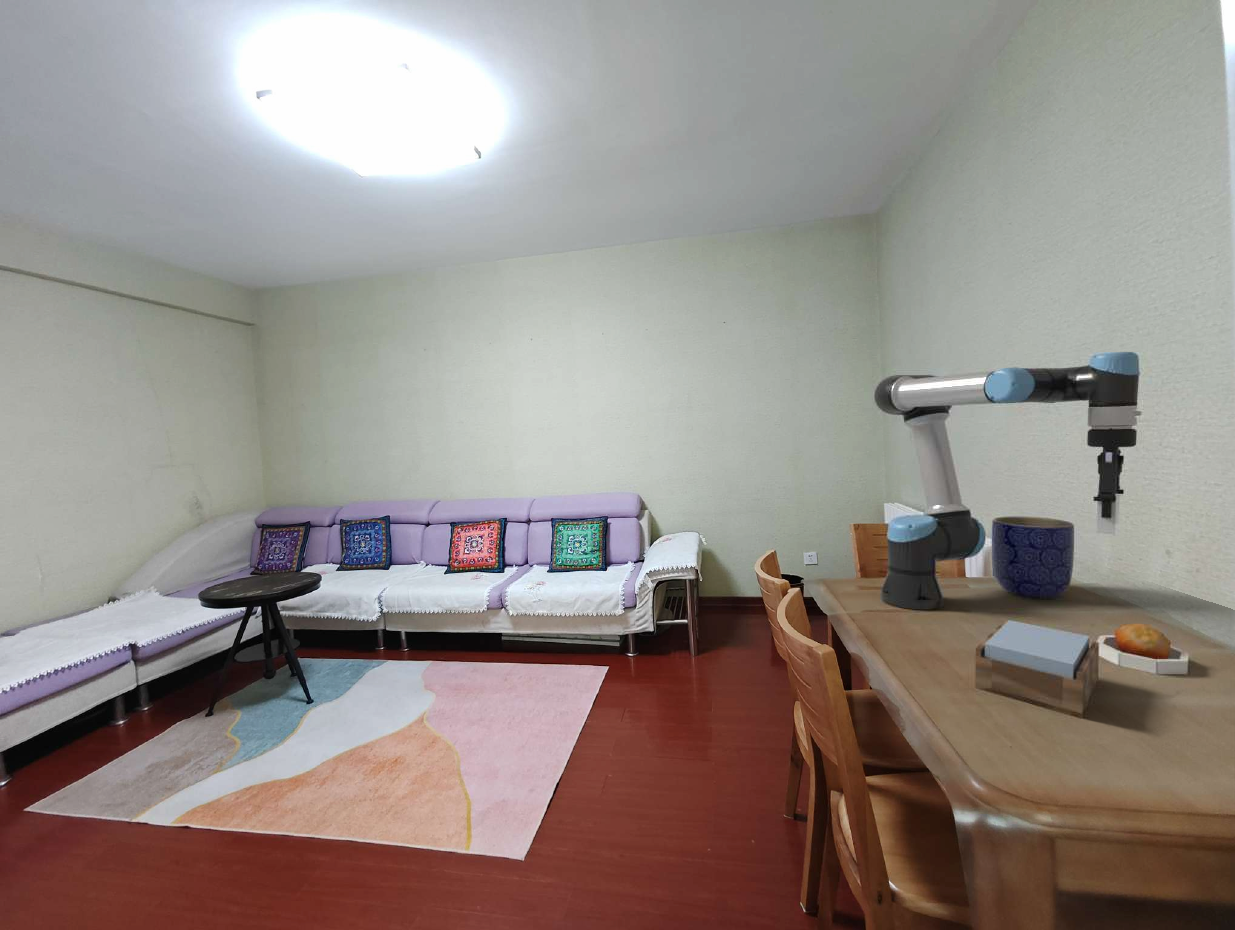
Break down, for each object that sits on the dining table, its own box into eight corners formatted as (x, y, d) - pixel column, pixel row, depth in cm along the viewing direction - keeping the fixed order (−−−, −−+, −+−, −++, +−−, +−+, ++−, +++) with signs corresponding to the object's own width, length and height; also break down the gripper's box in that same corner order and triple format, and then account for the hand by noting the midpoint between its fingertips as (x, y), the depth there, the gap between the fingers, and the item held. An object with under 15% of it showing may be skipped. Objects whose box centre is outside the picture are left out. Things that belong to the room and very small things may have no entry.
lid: (1008, 632, 109) (1008, 620, 109) (1089, 649, 99) (1089, 636, 99) (984, 657, 97) (984, 643, 97) (1072, 679, 88) (1073, 664, 88)
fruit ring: (1093, 659, 108) (1093, 647, 108) (1102, 641, 117) (1102, 630, 117) (1186, 680, 99) (1186, 667, 98) (1188, 659, 107) (1189, 647, 107)
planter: (1091, 602, 142) (1093, 526, 141) (1022, 604, 143) (1023, 527, 141) (1037, 582, 161) (1039, 515, 159) (976, 584, 161) (977, 517, 160)
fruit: (1148, 643, 112) (1161, 618, 108) (1168, 676, 106) (1183, 651, 101) (1100, 639, 115) (1112, 615, 110) (1117, 672, 108) (1130, 647, 104)
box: (1001, 658, 110) (1001, 622, 110) (1097, 681, 99) (1098, 642, 99) (975, 687, 98) (975, 647, 98) (1081, 718, 87) (1082, 673, 87)
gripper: (1135, 428, 100) (1130, 540, 101) (1138, 426, 117) (1134, 521, 119) (1082, 429, 105) (1078, 535, 106) (1092, 427, 122) (1089, 518, 124)
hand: (1107, 528), depth 112 cm, fingers open, 13 cm apart
